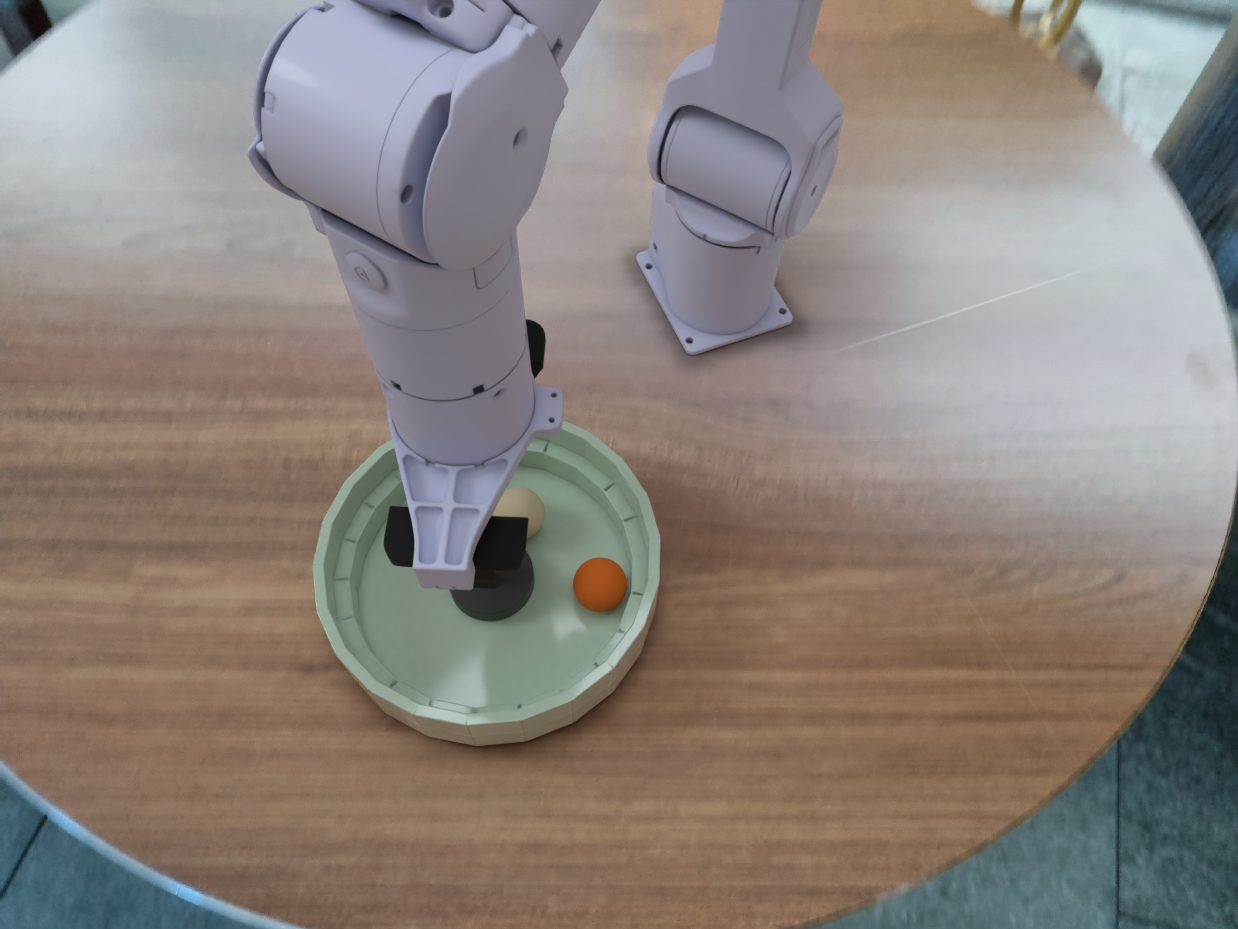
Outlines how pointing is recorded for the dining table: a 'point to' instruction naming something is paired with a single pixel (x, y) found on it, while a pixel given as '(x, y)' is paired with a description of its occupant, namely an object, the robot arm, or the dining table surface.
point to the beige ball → (522, 507)
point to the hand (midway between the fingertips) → (487, 508)
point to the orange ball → (599, 584)
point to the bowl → (505, 649)
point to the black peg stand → (498, 595)
